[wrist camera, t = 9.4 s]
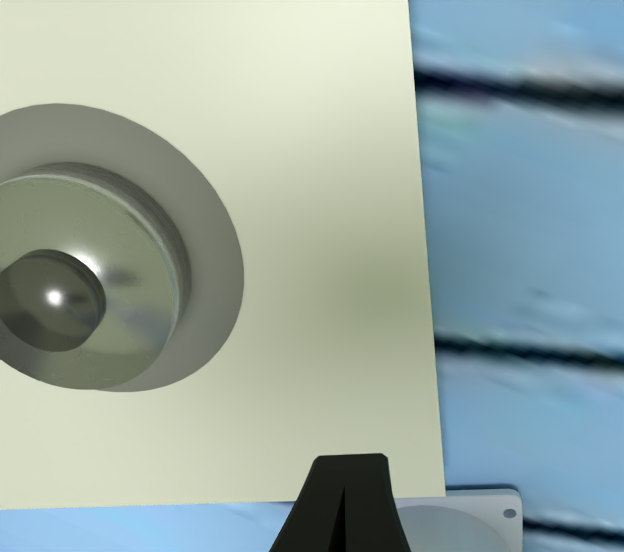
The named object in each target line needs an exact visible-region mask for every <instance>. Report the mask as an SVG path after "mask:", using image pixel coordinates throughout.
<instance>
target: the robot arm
mask: <svg viewBox="0 0 624 552" xmlns="http://www.w3.org/2000/svg"><path fill="white" fill-rule="evenodd" d="M445 492H446V497H413V498H394V497H393V493H392V486H391V478H390V470H389V462H388V457H386V456H385V455H384V454H382V453H367V454H344V455H320V456H318V457H317V458H316V459H315V460H314V461H313V463H312V466H311V468H310V471H309V473H308V476H307V478H306V480H305V482H304V485H303V487H302V489H301V491H300V493H299V495H298V498H297V500H296V502H295V504H294V506H293V508H292V510H291V512H290V514H289V516H288V518H287V519H286V521H285V523H284V525H283V527H282V529H281V531H280V532H279V534H278V536H277V538H276V540H275V542H274V543H273V545H272V547H271V549H270V551H269V552H522V500H521V496H520V494H519V493H518V492H517V491H515V490H513V489H483V490H451V491H445ZM507 509H512V510H509V511H507Z"/></svg>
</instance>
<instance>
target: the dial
mask: <svg viewBox="0 0 624 552" xmlns="http://www.w3.org/2000/svg"><path fill="white" fill-rule="evenodd" d="M190 292H191V268H190V262H189V258H188V254H187V251H186V248H185V245H184V243H183V241H182V238H181V236H180V234H179V232H178V230H177V229H176V227H175V225H174V224H173V222H172V221H171V219H170V218H169V217H168V215H167V214H166V213H165V211H164V210H163V209H162V208H161V207H160V206H159V205H158V204H157V203H156V202H155V201H154V200H153V199H152V198H151V197H150V196H149V195H148V194H146V193H145V192H144V191H143V190H142V189H140V188H139V187H137V186H136V185H134V184H133V183H131V182H130V181H128V180H127V179H125V178H123V177H121V176H119V175H117V174H115V173H113V172H110V171H107V170H105V169H102V168H99V167H95V166H91V165H87V164H82V163H72V162H58V163H50V164H44V165H40V166H37V167H34V168H31V169H28V170H26V171H24V172H22V173H20V174H18V175H16V176H15V177H13V178H11V179H9V180H7V181H5V182H3V183H1V184H0V360H2V361H3V362H5V363H6V364H7V365H9V366H10V367H12V368H14V369H16V370H17V371H19V372H21V373H23V374H25V375H27V376H29V377H31V378H33V379H36V380H38V381H41V382H44V383H47V384H50V385H54V386H58V387H62V388H69V389H77V390H95V389H104V388H109V387H113V386H117V385H120V384H123V383H125V382H128V381H130V380H131V379H133V378H135V377H137V376H139V375H140V374H141V373H143V372H144V371H145V370H147V369H148V368H149V367H150V366H151V365H152V364H153V363H154V361H155V360H156V359H157V357H158V356H159V355H160V353H161V352H162V350H163V348H164V347H165V345H166V343H167V342H168V340H169V339H170V337H171V335H172V334H173V332H174V330H175V329H176V327H177V325H178V324H179V322H180V320H181V319H182V317H183V315H184V312H185V310H186V308H187V305H188V301H189V298H190Z"/></svg>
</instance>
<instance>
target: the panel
mask: <svg viewBox="0 0 624 552" xmlns="http://www.w3.org/2000/svg"><path fill="white" fill-rule="evenodd" d="M58 162H72V163H82V164H87V165H91V166H95V167H99V168H102V169H105V170H107V171H110V172H113V173H115V174H117V175H119V176H121V177H123V178H125V179H127V180H128V181H130V182H131V183H133V184H134V185H136V186H137V187H139V188H140V189H142V190H143V191H144V192H145V193H146V194H148V195H149V196H150V197H151V198H152V199H153V200H154V201H155V202H156V203H157V204H158V205H159V206H160V207H161V208H162V209H163V210H164V211H165V213H166V214H167V215H168V217H169V218H170V219H171V221H172V222H173V224H174V225H175V227H176V229H177V230H178V232H179V234H180V236H181V238H182V241H183V243H184V245H185V248H186V251H187V254H188V258H189V262H190V268H191V292H190V298H189V301H188V305H187V308H186V310H185V312H184V315H183V317H182V319H181V320H180V322H179V324H178V325H177V327H176V329H175V330H174V332H173V334H172V335H171V337H170V339H169V340H168V342H167V343H166V345H165V347H164V348H163V350H162V352H161V353H160V355H159V356H158V357H157V359H156V360H155V361H154V363H153V364H152V365H151V366H150V367H149V368H148V369H147V370H145V371H144V372H143V373H141V374H140V375H139V376H137V377H135V378H133V379H131V380H130V381H128V382H125V383H123V384H120V385H117V386H113V387H109V388H104V389H95V390H77V389H69V388H62V387H58V386H54V385H50V384H47V383H44V382H41V381H38V380H36V379H33V378H31V377H29V376H27V375H25V374H23V373H21V372H19V371H17V370H16V369H14V368H12V367H10V366H9V365H7V364H6V363H5V362H3V361H2V360H0V510H5V509H39V508H73V507H107V506H141V505H175V504H209V503H243V502H277V501H296V500H297V498H298V495H299V493H300V491H301V489H302V487H303V485H304V482H305V480H306V478H307V476H308V473H309V471H310V468H311V466H312V463H313V461H314V460H315V459H316V458H317V457H318V456H320V455H344V454H367V453H382V454H384V455H385V456H386V457H388V462H389V470H390V478H391V486H392V493H393V497H394V498H413V497H446V492H445V479H444V466H443V452H442V439H441V426H440V413H439V400H438V387H437V374H436V361H435V348H434V335H433V322H432V309H431V296H430V283H429V270H428V256H427V243H426V230H425V217H424V204H423V191H422V178H421V165H420V152H419V139H418V126H417V113H416V100H415V87H414V74H413V60H412V47H411V34H410V21H409V8H408V0H0V184H1V183H3V182H5V181H7V180H9V179H11V178H13V177H15V176H16V175H18V174H20V173H22V172H24V171H26V170H28V169H31V168H34V167H37V166H40V165H44V164H50V163H58Z"/></svg>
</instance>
